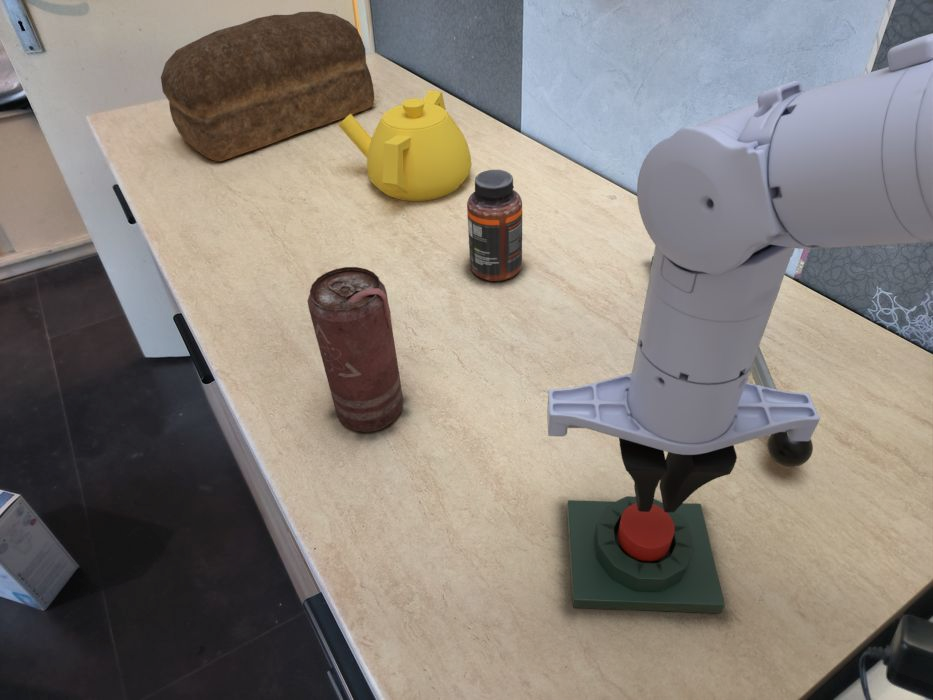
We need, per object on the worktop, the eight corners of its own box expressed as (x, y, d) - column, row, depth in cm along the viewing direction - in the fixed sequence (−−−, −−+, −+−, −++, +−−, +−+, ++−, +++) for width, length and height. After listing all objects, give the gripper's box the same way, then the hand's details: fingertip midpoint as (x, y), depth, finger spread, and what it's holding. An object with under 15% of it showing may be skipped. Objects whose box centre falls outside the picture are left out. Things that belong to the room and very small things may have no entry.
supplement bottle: (524, 255, 76) (527, 165, 69) (518, 285, 72) (519, 194, 64) (474, 251, 77) (471, 162, 70) (465, 281, 73) (460, 190, 65)
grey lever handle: (809, 473, 51) (826, 453, 49) (769, 475, 51) (783, 455, 49) (714, 240, 68) (723, 216, 65) (684, 241, 68) (691, 217, 65)
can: (402, 435, 57) (382, 311, 47) (330, 434, 57) (296, 311, 48) (410, 385, 61) (393, 262, 52) (344, 384, 62) (314, 263, 52)
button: (665, 516, 47) (669, 502, 46) (674, 562, 44) (679, 549, 43) (615, 515, 47) (617, 501, 46) (620, 560, 45) (623, 547, 43)
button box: (697, 512, 50) (705, 489, 48) (721, 613, 44) (731, 592, 42) (566, 508, 51) (569, 485, 49) (572, 608, 45) (575, 587, 43)
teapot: (372, 141, 100) (362, 68, 93) (488, 151, 96) (486, 75, 89) (317, 207, 86) (299, 127, 79) (449, 223, 82) (443, 139, 75)
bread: (171, 139, 104) (132, 34, 93) (340, 84, 118) (323, -13, 108) (209, 170, 95) (171, 58, 85) (386, 106, 110) (373, 4, 99)
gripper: (816, 297, 36) (752, 452, 45) (550, 295, 37) (541, 448, 46) (866, 390, 30) (782, 544, 40) (555, 385, 32) (544, 536, 41)
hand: (654, 498), depth 42 cm, fingers closed
